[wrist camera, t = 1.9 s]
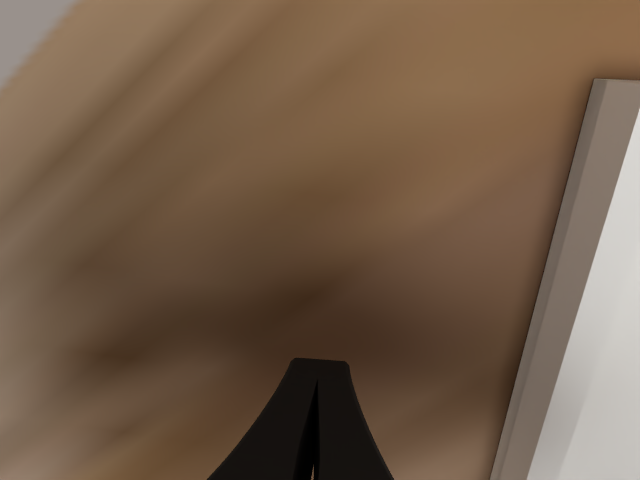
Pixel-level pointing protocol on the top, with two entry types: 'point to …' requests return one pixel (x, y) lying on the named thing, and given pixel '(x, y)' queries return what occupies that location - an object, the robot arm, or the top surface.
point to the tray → (586, 315)
